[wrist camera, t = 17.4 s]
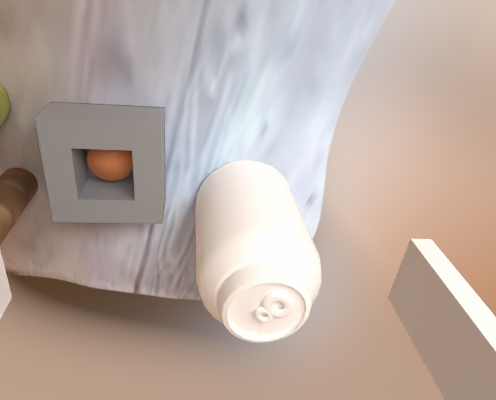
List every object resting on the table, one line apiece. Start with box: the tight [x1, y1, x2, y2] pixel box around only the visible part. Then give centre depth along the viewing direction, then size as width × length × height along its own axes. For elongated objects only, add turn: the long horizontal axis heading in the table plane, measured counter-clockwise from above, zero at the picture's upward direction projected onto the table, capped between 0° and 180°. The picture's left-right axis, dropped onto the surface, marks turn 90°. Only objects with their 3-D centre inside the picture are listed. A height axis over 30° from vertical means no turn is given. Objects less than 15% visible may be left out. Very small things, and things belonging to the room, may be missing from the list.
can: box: [195, 160, 321, 343], centre depth 45 cm, size 12×12×20 cm
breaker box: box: [35, 102, 166, 224], centre depth 46 cm, size 12×12×6 cm
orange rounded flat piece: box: [87, 149, 133, 181], centre depth 47 cm, size 5×5×2 cm
